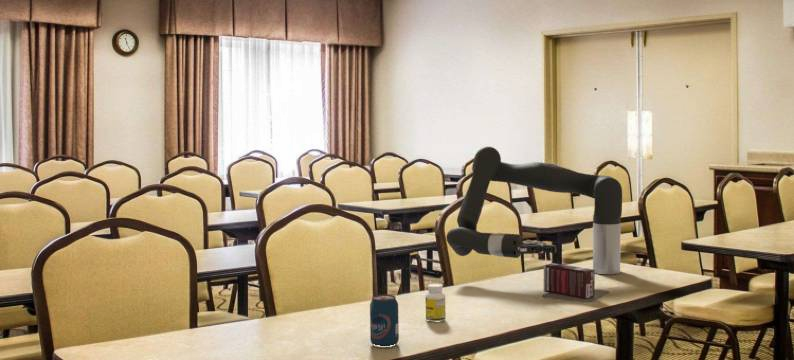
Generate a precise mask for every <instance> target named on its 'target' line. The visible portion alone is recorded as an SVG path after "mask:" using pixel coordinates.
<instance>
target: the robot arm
mask: <svg viewBox="0 0 794 360" xmlns="http://www.w3.org/2000/svg"><path fill="white" fill-rule="evenodd" d="M471 166H472V167H471V168H472V169H471V170H472V177H471V179H470V182H469V185H468V188H467V191H466V193H465V195H464V198H463V200H462V203H461V205H460V207H459V208H460V209H459V212H458V215H457V218H456V223H457V227H453V228H451V229H450V230H449V231H447V233H446V238H445V239H446V241H447V243H448V245H449V247H450V248H452V250H453V251H454V253H455V254H456V255H458V256H460V257H465V256H468V255H470V253H472V251H474V252H475V253H477V254H479V255H488V256H495V257H501V258H502V257H503V258H513V259H518V258H520V257H521V256H522V255H528V254H529V255H530V254H531V255H532V254H533V255H535V254H537V255H538V254H544V253H549V254H555V253H557V252H558V251H557V250H558V247H557V245H554V244H547V242H543V241H540V240H531V239H525V240H523V236H521V235H520V234H518V233H504V232H502V233H501V232H496V233H493V232H481V231H478V229H477V228H478V227H477V226H478V223H479V220H480V217H481V214H482V210H483V207H484V204H485V200H486V197H487V192H488V189H489V186H490V183H491V182H499V183H507V184H513V185H518V186H524V187H528V188H533V189H537V190H541V191H547V192H552V193H553V192H554V193H563V194H564V193H566V194H578V195H582V196H585V197H588V198H592V199H593V200H594V207H593V208H594V211H593V215H592V269H593V270H595V274H599V275H600V274H601V275H617V274H620V273H621V222H622V221H621V220H622V219H621V217H622V214H623V188H622V184H621V183H620V181H619V180H617V179H616V178H614V177H613V176H609V175H599V174H591V173H589V174H588V173H583V172H578V171H575V170H572V169H569V168H565V167H563V166H558V165H555V164H552V163H551V164H550V163H546V162H539V161H537V162H536V161H535V162H533V161H532V162H526V163H517V164H515V163H507V162H504V161H502V158H501V155H500V152H499V150H497V148H494V147H493V146H484V147H483V146H482V147H481V148H480V149H478V150H477V151H476V153H475V155H474V158H473V161H472V165H471Z"/></svg>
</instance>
